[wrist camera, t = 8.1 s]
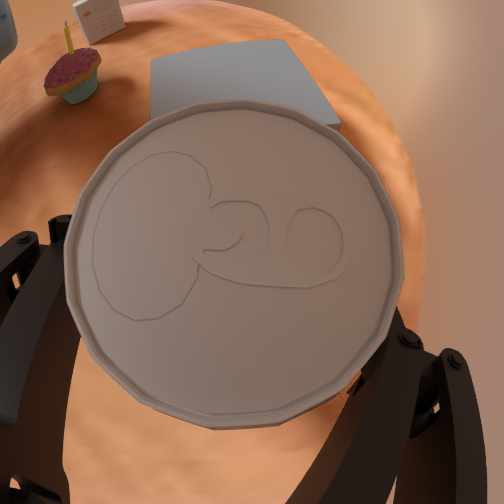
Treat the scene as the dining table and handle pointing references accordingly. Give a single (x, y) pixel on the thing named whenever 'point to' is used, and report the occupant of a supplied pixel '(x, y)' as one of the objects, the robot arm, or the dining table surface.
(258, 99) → the tower top slab
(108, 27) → the small box
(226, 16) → the dining table surface
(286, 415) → the supplement can
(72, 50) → the cupcake
